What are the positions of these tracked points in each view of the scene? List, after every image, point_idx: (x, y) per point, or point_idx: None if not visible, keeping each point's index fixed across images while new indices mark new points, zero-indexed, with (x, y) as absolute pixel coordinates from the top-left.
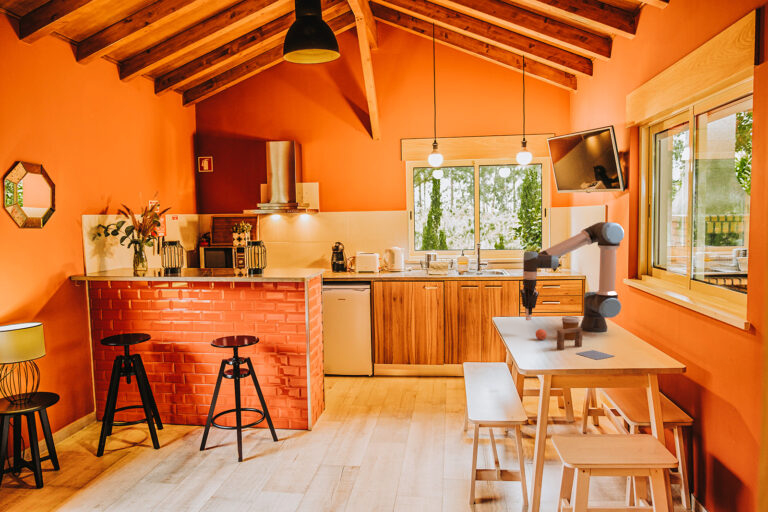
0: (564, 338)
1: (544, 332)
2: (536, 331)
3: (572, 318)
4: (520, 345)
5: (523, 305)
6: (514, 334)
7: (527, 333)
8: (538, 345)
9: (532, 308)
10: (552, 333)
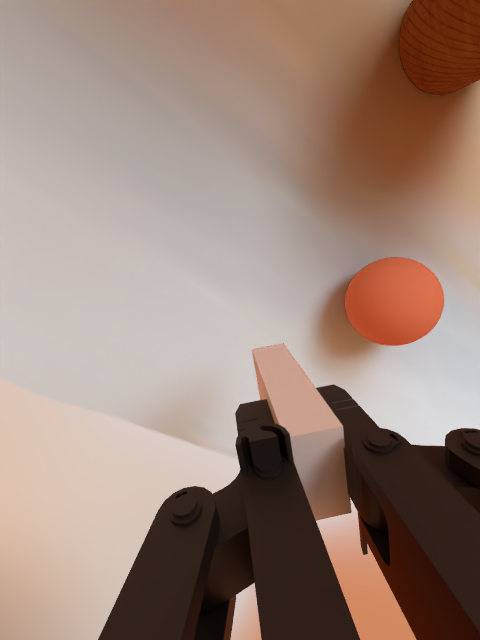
0: (423, 89)
1: (443, 300)
2: (384, 341)
3: None
4: None
5: (220, 607)
6: (164, 378)
7: (160, 270)
8: (468, 390)
9: (430, 461)
10: (222, 47)
